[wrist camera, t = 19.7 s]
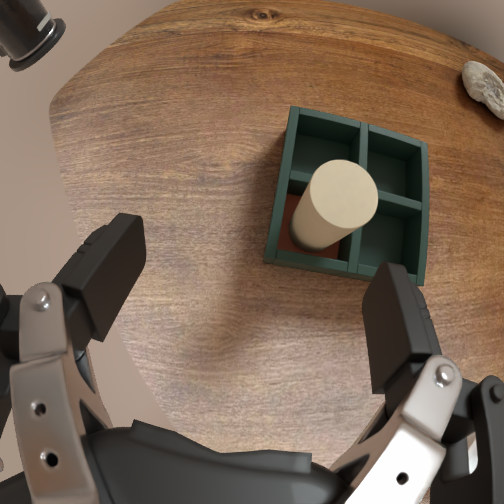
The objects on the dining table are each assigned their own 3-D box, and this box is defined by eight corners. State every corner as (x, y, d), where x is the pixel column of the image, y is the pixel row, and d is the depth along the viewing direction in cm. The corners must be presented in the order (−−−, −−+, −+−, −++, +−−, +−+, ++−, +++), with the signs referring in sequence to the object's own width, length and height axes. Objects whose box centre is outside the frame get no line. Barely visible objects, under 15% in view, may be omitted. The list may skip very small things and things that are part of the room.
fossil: (484, 97, 24) (453, 48, 26) (471, 113, 28) (444, 64, 30) (528, 115, 24) (500, 68, 26) (516, 127, 27) (490, 81, 30)
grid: (262, 262, 26) (264, 257, 22) (286, 128, 27) (290, 105, 23) (401, 287, 25) (423, 286, 21) (409, 159, 27) (427, 143, 23)
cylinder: (284, 247, 25) (304, 220, 15) (292, 203, 25) (313, 152, 16) (330, 256, 25) (375, 235, 15) (336, 212, 25) (379, 168, 15)
